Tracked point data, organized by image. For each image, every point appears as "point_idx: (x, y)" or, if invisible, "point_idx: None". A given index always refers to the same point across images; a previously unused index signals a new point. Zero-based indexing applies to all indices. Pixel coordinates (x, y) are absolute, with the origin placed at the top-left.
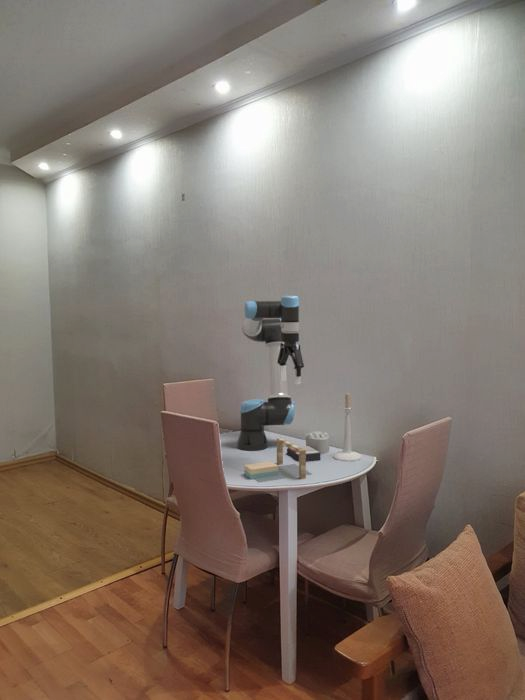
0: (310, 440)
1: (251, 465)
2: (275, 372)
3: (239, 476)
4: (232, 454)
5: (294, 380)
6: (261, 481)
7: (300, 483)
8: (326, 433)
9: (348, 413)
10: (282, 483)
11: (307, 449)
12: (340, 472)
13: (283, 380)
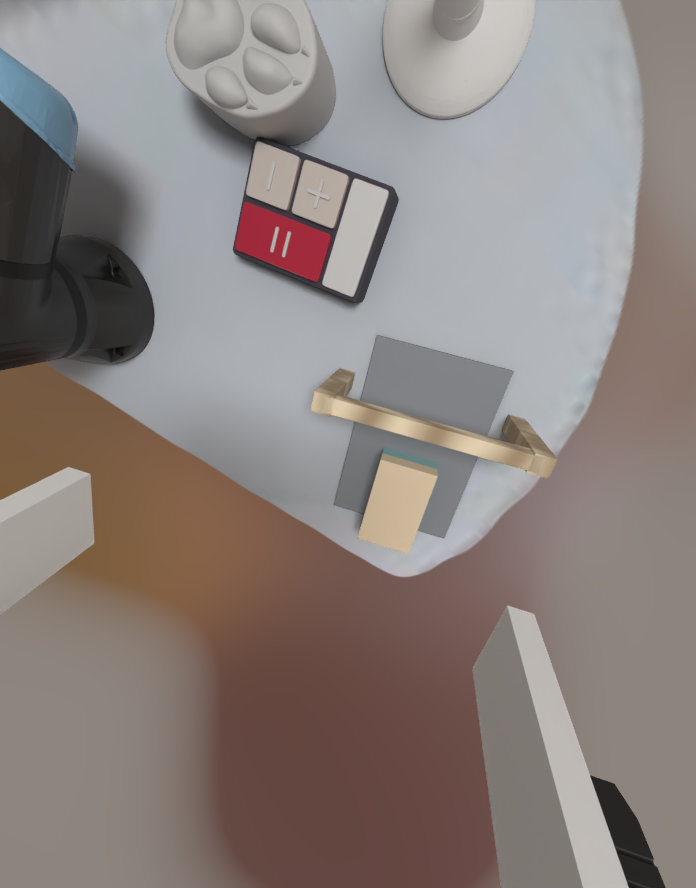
0: (260, 123)
1: (376, 529)
2: None
3: None
4: (160, 418)
5: (486, 726)
6: (444, 529)
7: None
8: None
9: None
10: (495, 494)
11: (318, 205)
12: (577, 256)
13: (91, 511)
